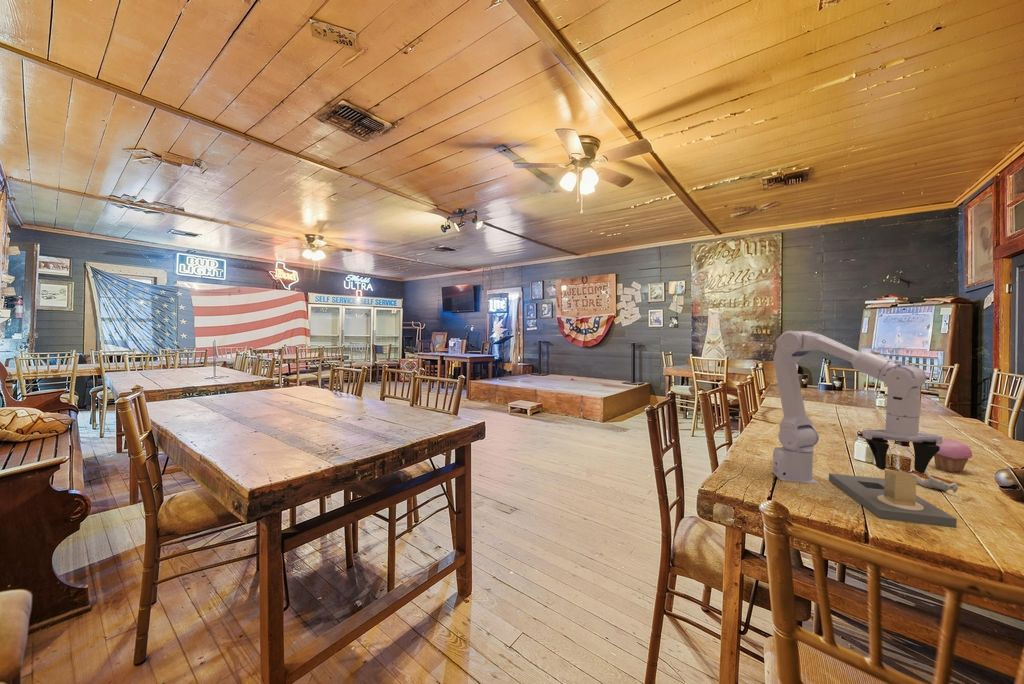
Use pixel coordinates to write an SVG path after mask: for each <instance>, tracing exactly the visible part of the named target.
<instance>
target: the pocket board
mask: <svg viewBox="0 0 1024 684" xmlns="http://www.w3.org/2000/svg"><path fill="white" fill-rule="evenodd" d="M828 481H829V482H830V483H832V484H833V485H835V486H836V487H837V488H839V489H840V490H841V491H843V492H844V493H845V494H847V495H848V496H849V497H851V499H853V500H854V501H856V502H857V503H858V504H860V505H861V506H862V507H864V508H865V510H868V511H869V512H870V513H872V514H873V515H874V516H876V517H877V518H878V519H879V520H881V519H882V520H889V521H898V522H904V523H905V522H906V523H914V524H923V525H930V526H941V527H947V528H955V529H956V528H957V522H958V521H957V520H958V518H956V517H954V516H953V515H951V514H949V513H947V512H946V511H944V510H943V509H942V508H939V507H937V506H936V505H934V504H932V503H930V502H928V501H926V500H925V499H924V498H922V497H920V496H919V495H916V498H915V506H907V505H898V504H893V503H892V502H890V501H889V500H887V499H886V498H884V481H885V478H881V477H880V478H879V477H870V476H860V475H850V474H849V475H848V474H840V473H828Z"/></svg>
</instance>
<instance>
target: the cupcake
mask: <svg viewBox="0 0 1024 684" xmlns="http://www.w3.org/2000/svg"><path fill="white" fill-rule="evenodd" d="M936 445H937V446H940V450H939V451H938V452H937V453H936V454H935V455H934V456H933V458H934V466H935V468H936V469H939V470H940V469H941V470H940V471H945V472H949V473H955V472H958V473H962V472H963V471H964V468H965V466H966V464H967V462H968V461H969V459H971V458H972V457H973V452H972V450H971V449H972V448H970V447H969V446H968V445H967V444H965V443H963V442H962V441H958V440H954V439H948V438H947V439H946V438H942V445H940V444H936Z"/></svg>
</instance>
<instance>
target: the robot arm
mask: <svg viewBox="0 0 1024 684" xmlns="http://www.w3.org/2000/svg"><path fill="white" fill-rule="evenodd" d="M775 343H776V349H775V351H774V356H773V359H772V360H773V366H774V370H775V376H776V380H777V381H776V382H777V387H778V392H779V397H780V402H781V408H782V413H783V418H782V419H781V421H780V422H779V425H778V426H779V433H778V434H777V435H778V436H777V437H778V440H779V443H780V444H781V446H780V447H779V446H778V447H774V449H773V452H772V470H771V473H773V474H774V476H775V477H777V478H778V479H779V480H780V481H781V482H782V481H789V482H797V483H798V482H800V483H808V484H816V485H817V484H819V482H818V481H817V480H816V479H814V477H813V471H814V470H813V469H814V468H813V467H814V461H813V460H814V447H815V445H816V444H818V442H819V440H820V437H819V436H820V435H819V433H818V431H817V430H816V428H815V426H814V424H813V421H812V419H811V418H809V417H808V416H807V413H806V409H805V403H804V398H803V393H802V388H801V384H800V379H799V373H798V368H797V363H798V362H799V361H800V360H801V359H802V358H803V357H804V356H806V355H808V354H809V353H812V352H813V351H821V352H824V353H827V354H829V355H831V356H833V357H834V356H835V357H837V358H840V359H842V360H845V361H847V362H849V363H851V365H852V368H853V369H854V370H855V371H859V372H860V373H862V374H865V375H868V376H869V377H871V378H874V379H876V380H879V381H881V382H883V384H884V385H885V386H886V387H887V390H886V391H887V393H886V394H887V395H886V408H885V411H886V413H885V427H884V429H862V438H864V439H865V442H866V443H867V445H868V446H869V448H870V450H871V452H872V456H873V457H874V461H875V466H876V468H877V469H879V470H881V471H885V470H886V461H887V454H888V449H889V447H890V444H889V443H887V442H886V441H896V442H897V441H899V442H910V443H911V442H912V446H913V447H912V448H913V452H914V453H913V454H914V465H913V466H914V471H915V472H917V473H919V474H922V475H923V474H925V470H927V468H928V465H929V464H930V462H931V460H932V459H933V458H934V455H935V454H936V453H937V452H938V451H939V450H940V446H937V445H936V444H940V445H942V439H943V436H942V435H938V434H932V433H922V432H919V431H920V416H921V415H920V413H921V387H922V386H923V385H925V383H926V382H927V376H926V373H925V372H924V371H923V370H922V369H921V368H920V367H917V365H914V364H904V365H903V361H902V360H900V359H895V360H894V359H892V358H890V357H886V356H884V355H882V354H881V351H878V350H875V349H873V350H870V349H869V350H868V349H865V350H862V351H858V350H856V349H854V348H852V347H849V346H847V345H845V344H843V343H840V341H839V342H838V341H837V340H834V339H832V338H830V337H827V336H826V335H824V334H820V333H816V332H814V331H811V330H805V331H803V330H802V331H801V330H800V331H799V330H798V331H797V330H795V331H794V330H787V331H784V332H783V333H781V334H780V335H779V336H778V337H777V339H775Z"/></svg>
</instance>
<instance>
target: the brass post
mask: <svg viewBox="0 0 1024 684" xmlns="http://www.w3.org/2000/svg"><path fill="white" fill-rule="evenodd" d="M909 473H910V472H907V471H903V470H902V471H899V470H896V469H895V470H894V469H893V470H892V469H885V470H884V479H885V481H884V498H886V499H887V500H889V501H890V502H892V503H893V504H898V505H907V506H915V498H916V494H917V482H916V477H915V476H913V475H911V474H909Z"/></svg>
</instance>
